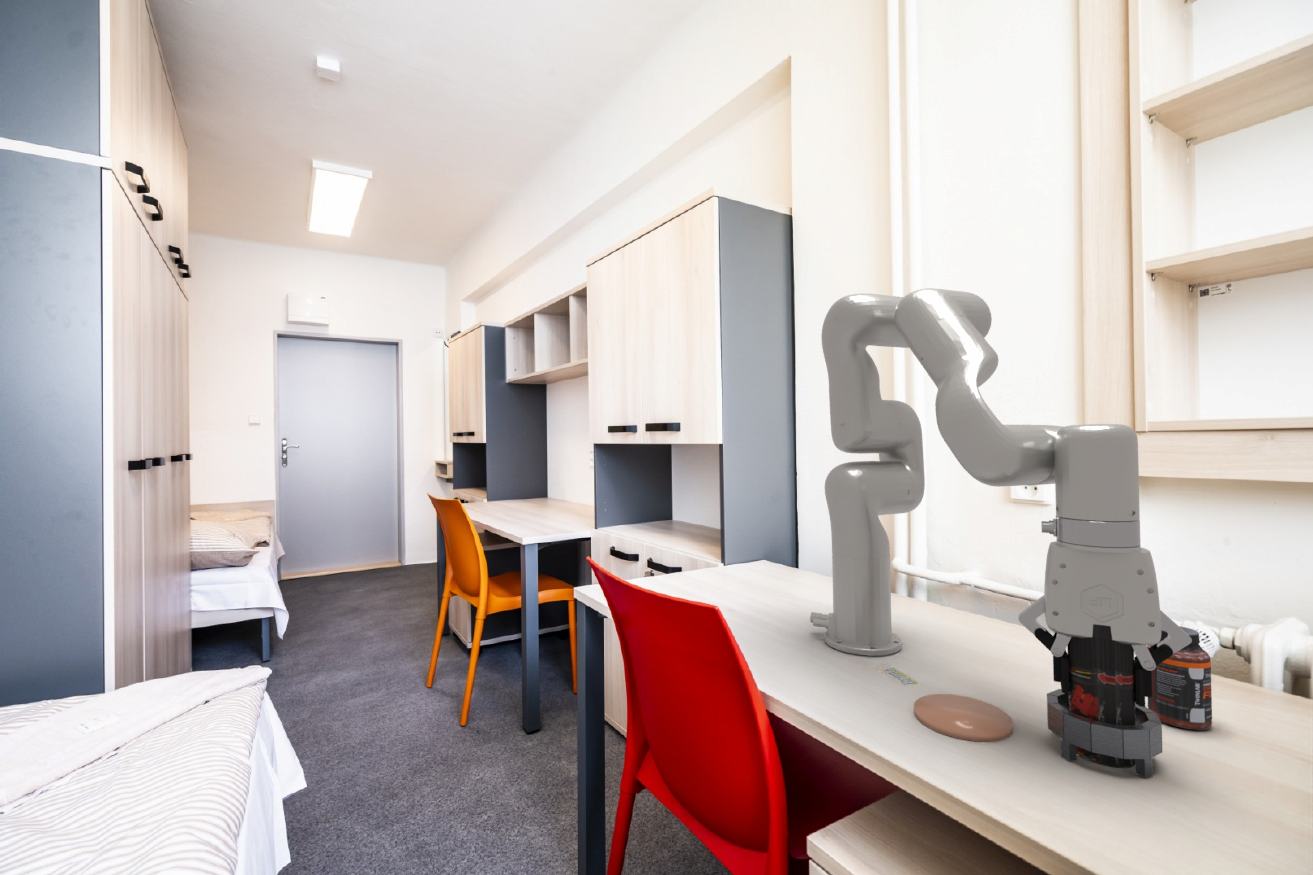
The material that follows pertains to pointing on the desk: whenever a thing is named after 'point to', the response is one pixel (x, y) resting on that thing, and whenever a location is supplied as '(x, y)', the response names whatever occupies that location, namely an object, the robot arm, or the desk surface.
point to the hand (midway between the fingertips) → (1100, 693)
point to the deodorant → (1102, 685)
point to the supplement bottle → (1183, 686)
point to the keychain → (895, 674)
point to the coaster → (963, 717)
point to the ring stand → (1106, 734)
